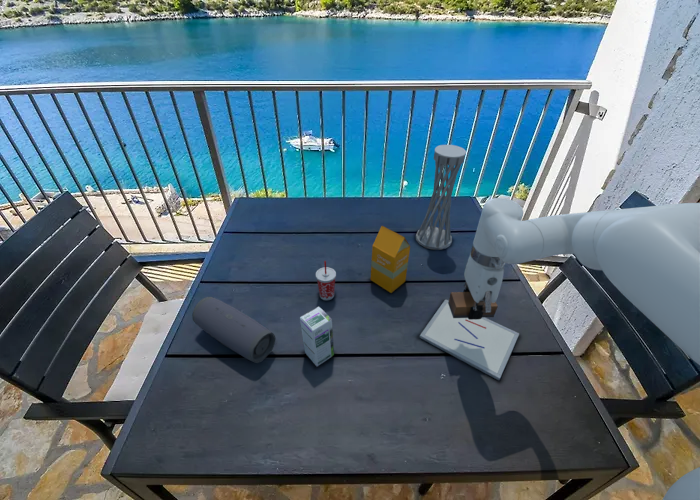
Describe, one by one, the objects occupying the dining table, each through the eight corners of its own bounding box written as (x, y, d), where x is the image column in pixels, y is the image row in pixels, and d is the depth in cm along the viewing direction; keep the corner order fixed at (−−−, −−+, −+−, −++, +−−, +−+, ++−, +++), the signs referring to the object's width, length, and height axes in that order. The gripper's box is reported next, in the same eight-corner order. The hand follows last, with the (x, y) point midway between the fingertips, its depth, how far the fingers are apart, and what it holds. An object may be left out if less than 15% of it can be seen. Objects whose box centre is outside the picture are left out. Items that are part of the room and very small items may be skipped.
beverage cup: (313, 298, 108) (310, 264, 99) (323, 285, 112) (320, 252, 104) (331, 304, 106) (329, 270, 97) (340, 291, 110) (339, 257, 102)
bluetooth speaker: (279, 347, 94) (274, 323, 88) (254, 373, 88) (247, 349, 82) (222, 312, 104) (214, 288, 97) (196, 333, 97) (185, 309, 91)
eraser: (493, 317, 85) (498, 306, 83) (453, 318, 85) (456, 307, 82) (486, 302, 89) (490, 291, 87) (448, 303, 89) (450, 292, 86)
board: (518, 335, 97) (519, 333, 96) (498, 380, 86) (500, 378, 86) (444, 301, 107) (445, 299, 107) (419, 337, 96) (419, 335, 96)
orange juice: (391, 293, 110) (396, 243, 97) (370, 280, 115) (372, 230, 102) (405, 281, 114) (413, 231, 102) (385, 268, 119) (389, 219, 107)
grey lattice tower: (449, 252, 126) (471, 161, 104) (413, 245, 129) (426, 156, 107) (453, 232, 136) (473, 145, 114) (418, 226, 139) (432, 140, 117)
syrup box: (316, 367, 89) (313, 331, 80) (303, 352, 93) (299, 316, 84) (334, 355, 92) (332, 319, 83) (321, 341, 96) (318, 305, 86)
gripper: (522, 279, 69) (497, 337, 80) (492, 230, 82) (474, 285, 94) (485, 280, 69) (465, 337, 80) (460, 230, 82) (447, 285, 93)
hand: (470, 309), depth 87 cm, fingers closed on eraser, 5 cm apart
